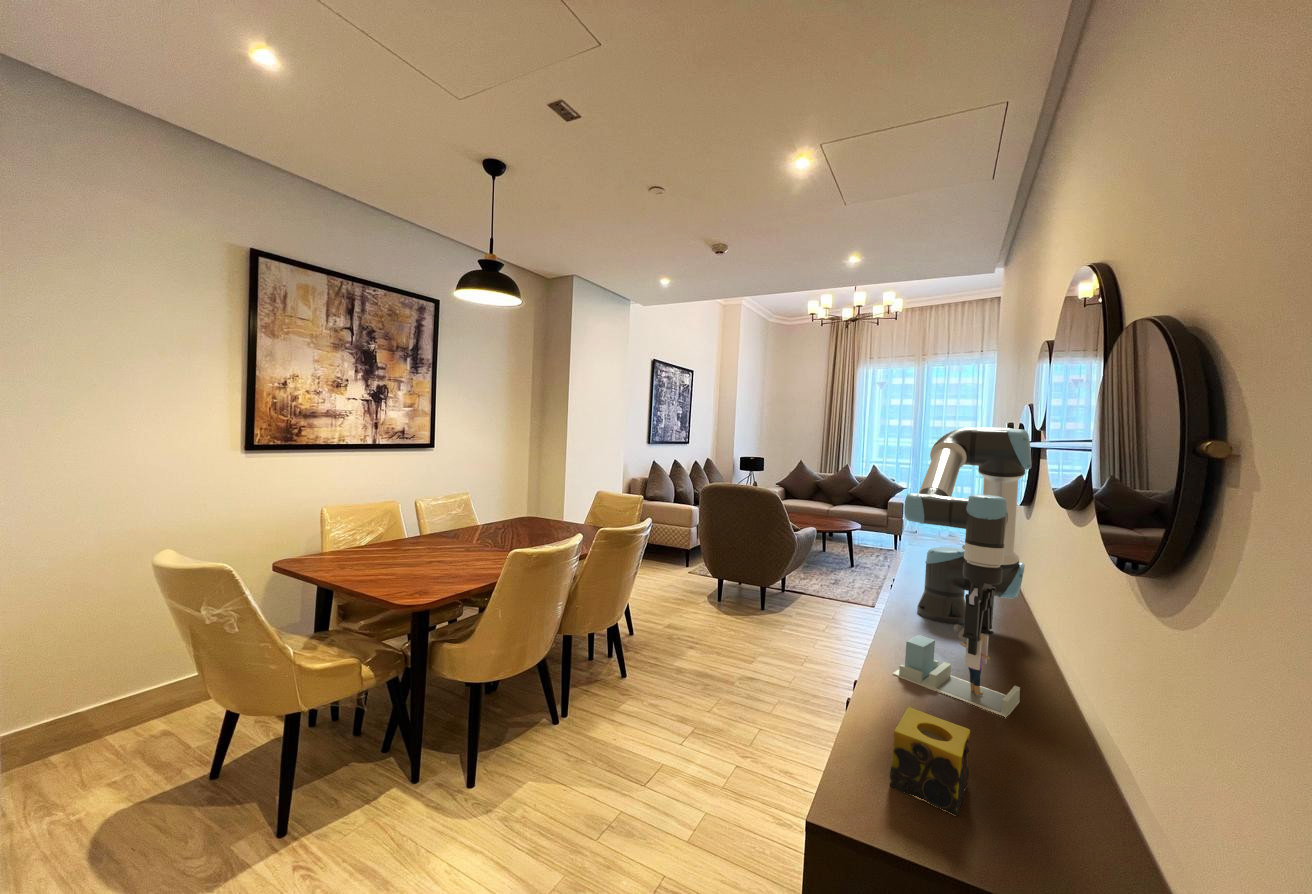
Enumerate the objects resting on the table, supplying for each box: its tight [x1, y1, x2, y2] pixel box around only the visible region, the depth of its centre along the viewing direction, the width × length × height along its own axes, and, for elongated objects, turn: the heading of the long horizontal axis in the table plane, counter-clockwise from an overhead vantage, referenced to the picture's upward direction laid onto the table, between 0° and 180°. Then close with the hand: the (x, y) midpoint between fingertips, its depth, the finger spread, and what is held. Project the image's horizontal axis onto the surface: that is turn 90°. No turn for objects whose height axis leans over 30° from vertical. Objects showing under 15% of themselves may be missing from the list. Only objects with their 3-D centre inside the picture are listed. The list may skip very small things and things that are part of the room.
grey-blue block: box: [904, 634, 936, 679], centre depth 124 cm, size 7×4×8 cm, turn 131°
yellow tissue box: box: [889, 706, 971, 816], centre depth 83 cm, size 10×10×10 cm
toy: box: [953, 624, 991, 695], centre depth 115 cm, size 10×6×15 cm, turn 0°
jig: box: [892, 659, 1021, 719], centre depth 118 cm, size 11×24×4 cm, turn 42°
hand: (976, 664), depth 115 cm, fingers closed on toy, 4 cm apart
